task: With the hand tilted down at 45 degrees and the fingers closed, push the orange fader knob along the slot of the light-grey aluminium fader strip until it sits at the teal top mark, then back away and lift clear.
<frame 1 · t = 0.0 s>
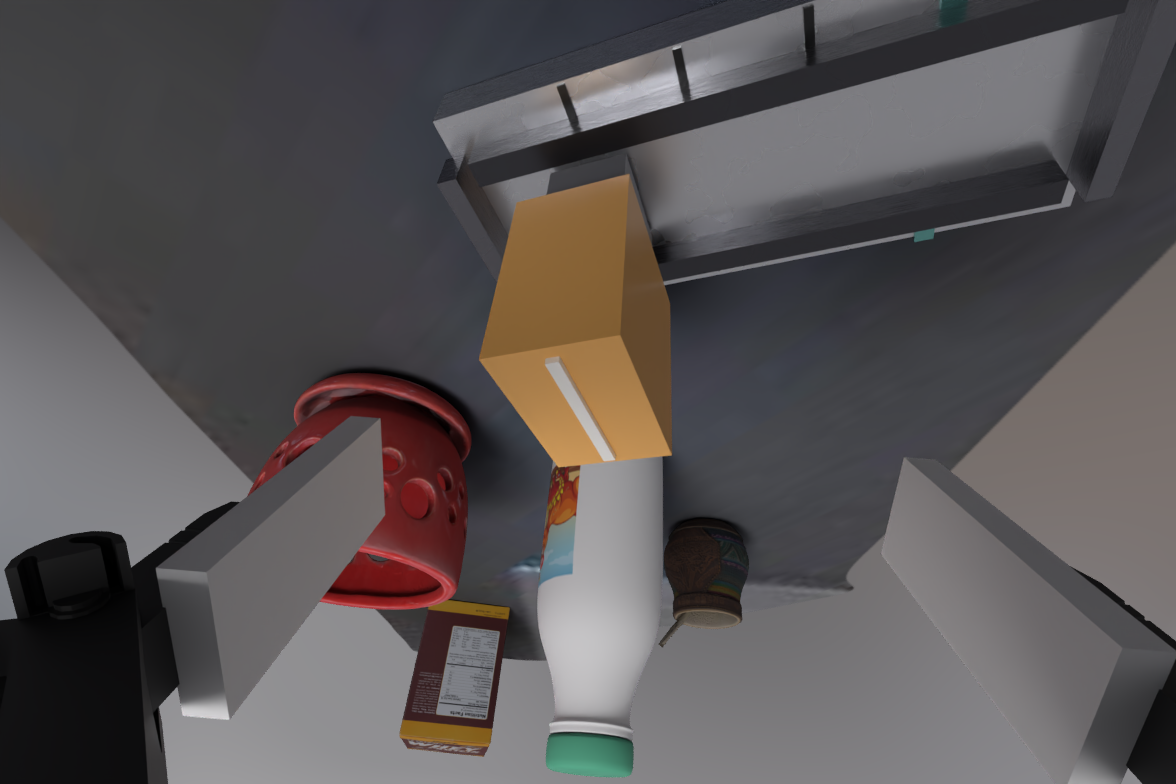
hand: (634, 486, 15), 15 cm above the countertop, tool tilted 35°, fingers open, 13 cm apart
mate gourd: (702, 526, 53), on the countertop
plant pot: (397, 412, 42), on the countertop
fader strip: (752, 135, 23), on the countertop
milk bottle: (609, 443, 43), on the countertop
fader knob: (595, 296, 21), point 7 cm above the countertop, slide at 0.0 cm
supplement box: (469, 616, 82), on the countertop
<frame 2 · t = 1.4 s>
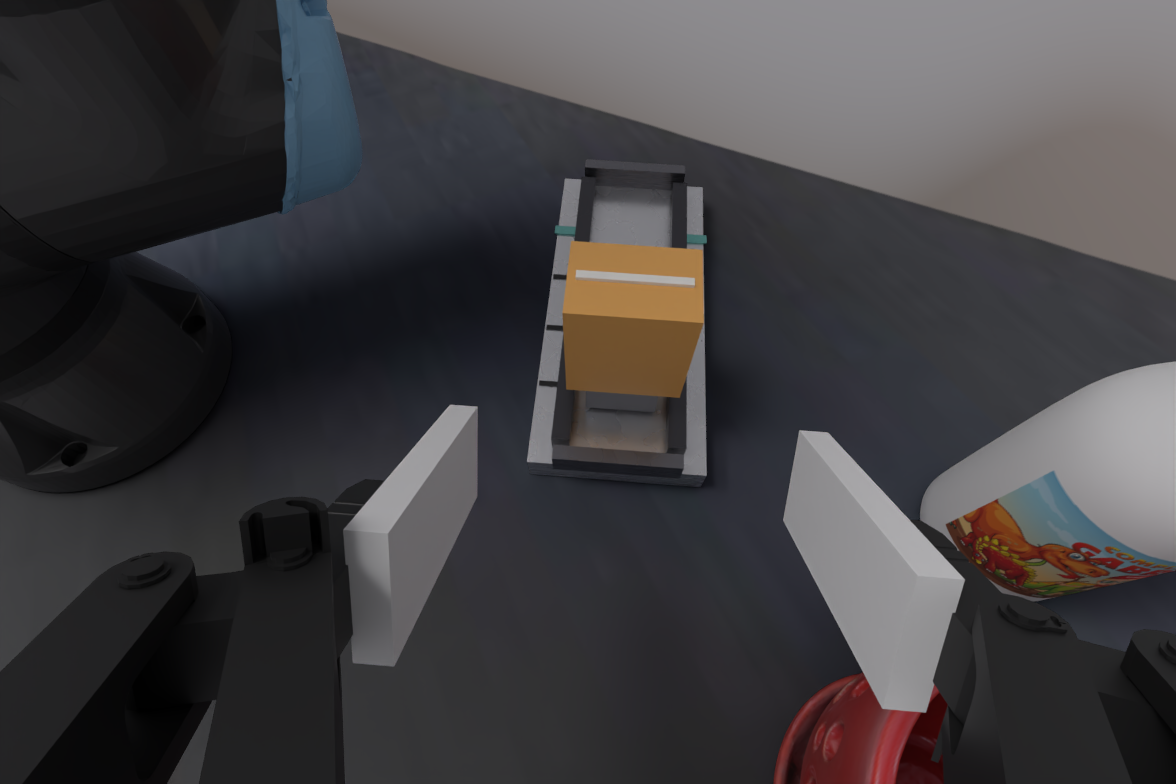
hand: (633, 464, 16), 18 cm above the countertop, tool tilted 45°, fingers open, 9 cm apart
fader strip: (624, 324, 40), on the countertop
milk bottle: (982, 535, 34), on the countertop
fader knob: (627, 340, 30), point 7 cm above the countertop, slide at 0.0 cm
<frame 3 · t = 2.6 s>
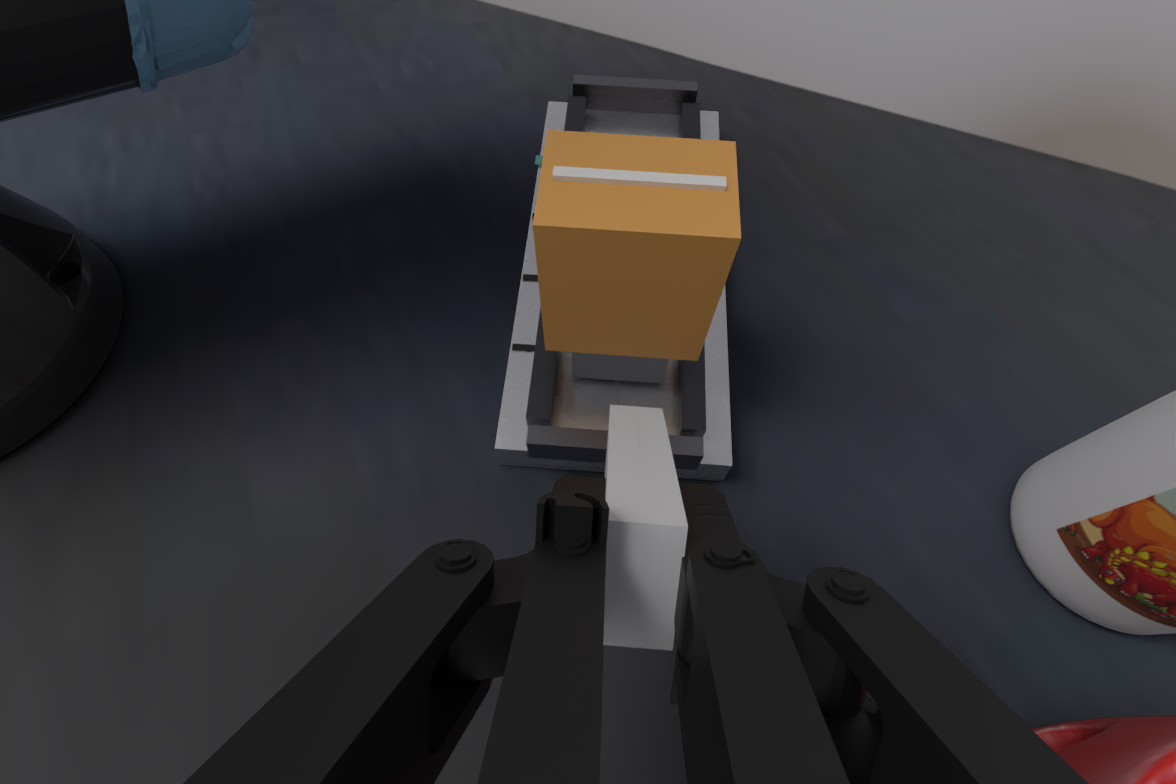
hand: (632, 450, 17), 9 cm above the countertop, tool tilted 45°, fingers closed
fader strip: (622, 277, 32), on the countertop
milk bottle: (1091, 541, 26), on the countertop
fader knob: (627, 281, 22), point 7 cm above the countertop, slide at 0.0 cm
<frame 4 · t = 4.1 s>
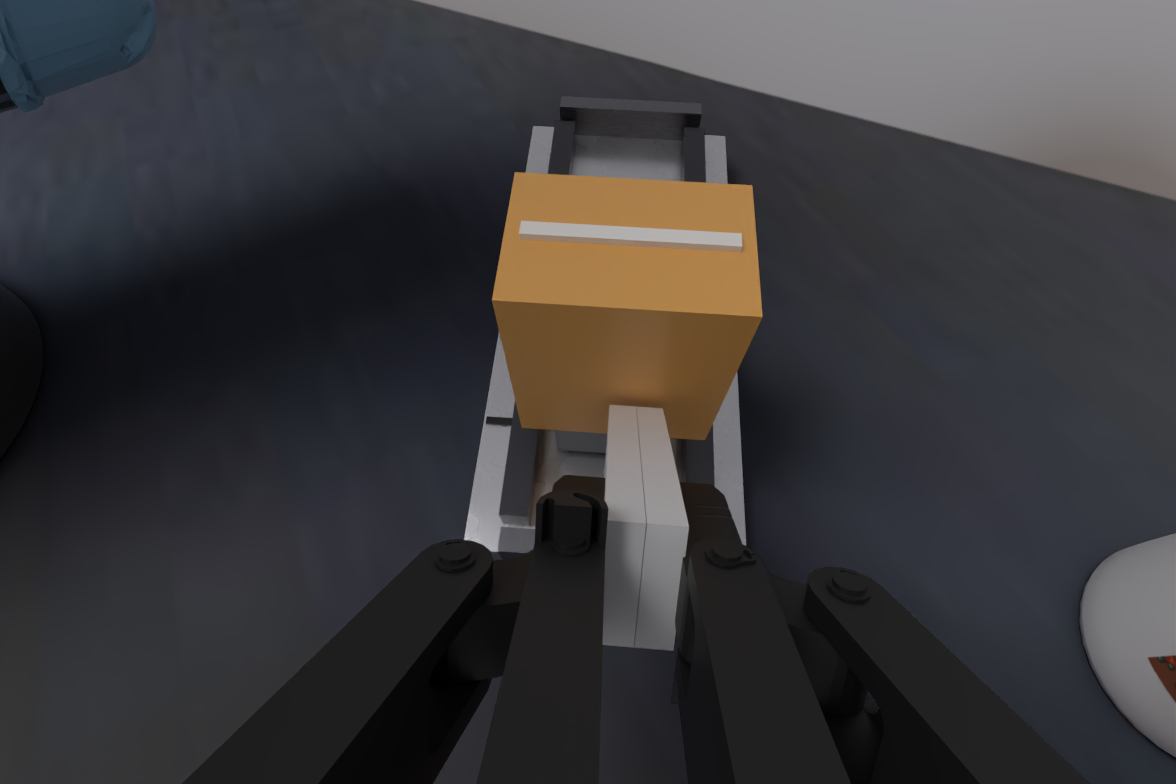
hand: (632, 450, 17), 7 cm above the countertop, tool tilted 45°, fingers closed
fader strip: (616, 328, 28), on the countertop
fader knob: (619, 348, 18), point 7 cm above the countertop, slide at 0.4 cm, touching gripper
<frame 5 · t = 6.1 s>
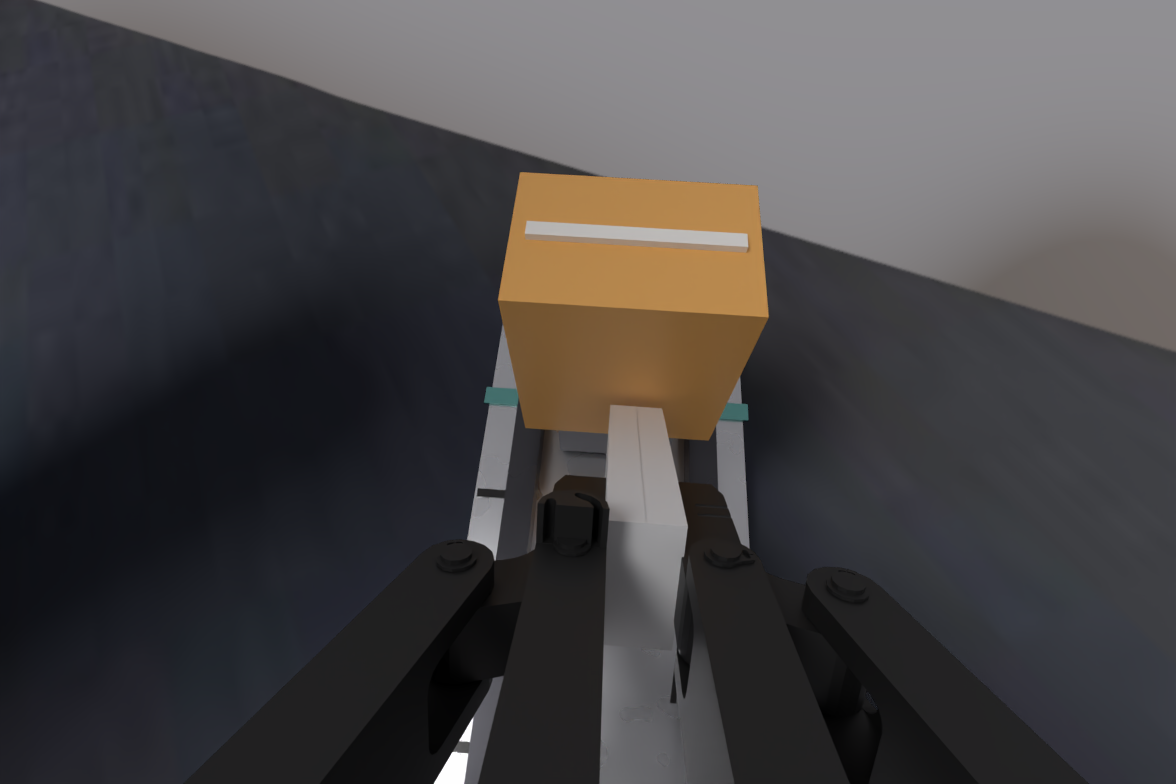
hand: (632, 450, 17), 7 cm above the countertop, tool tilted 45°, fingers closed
fader strip: (605, 568, 22), on the countertop
fader knob: (623, 348, 18), point 7 cm above the countertop, slide at 11.3 cm
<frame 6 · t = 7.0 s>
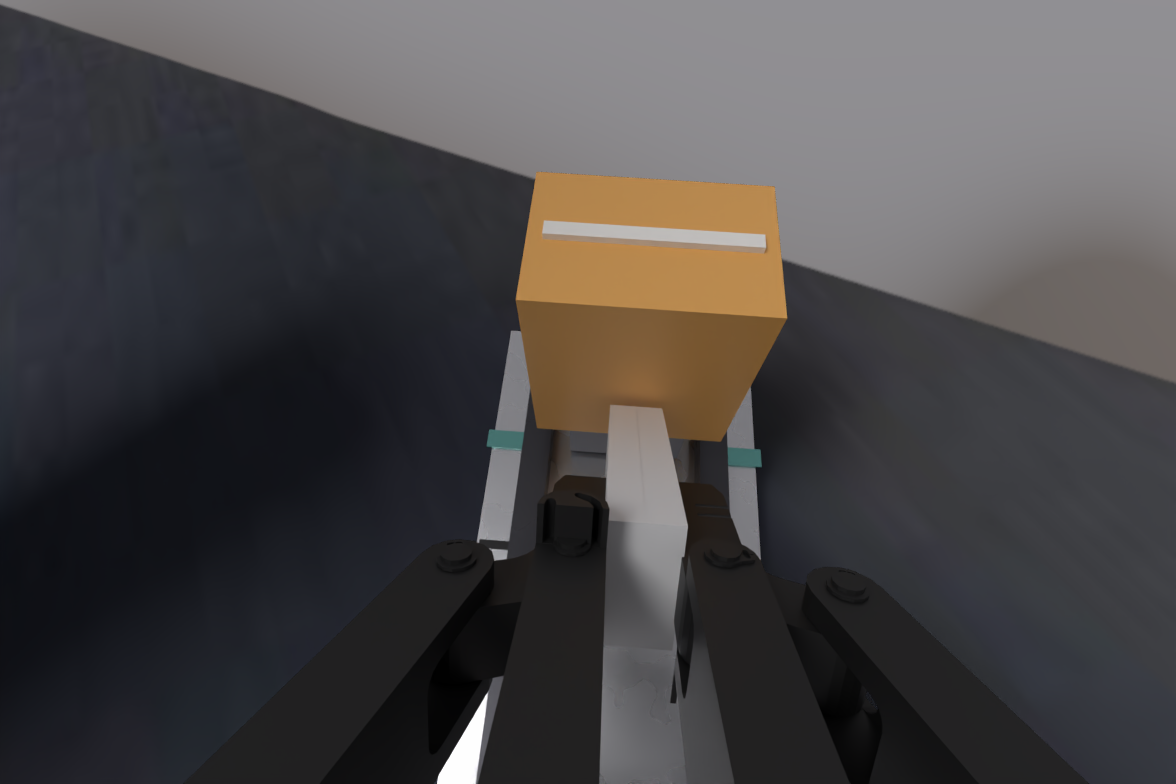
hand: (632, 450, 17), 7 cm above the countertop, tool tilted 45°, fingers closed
fader strip: (612, 622, 22), on the countertop
fader knob: (636, 348, 18), point 7 cm above the countertop, slide at 13.2 cm, touching gripper
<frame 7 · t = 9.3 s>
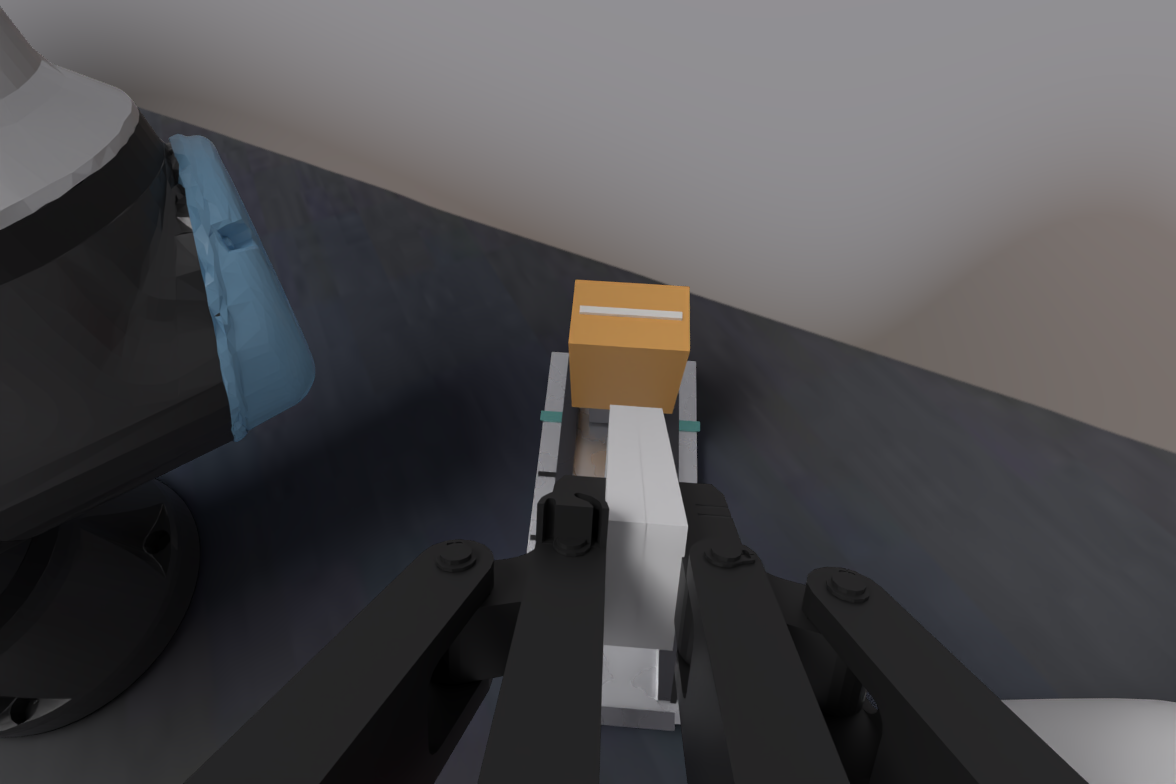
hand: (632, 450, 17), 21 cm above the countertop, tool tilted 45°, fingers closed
fader strip: (613, 520, 38), on the countertop
milk bottle: (998, 783, 31), on the countertop
fader knob: (625, 363, 34), point 7 cm above the countertop, slide at 13.2 cm
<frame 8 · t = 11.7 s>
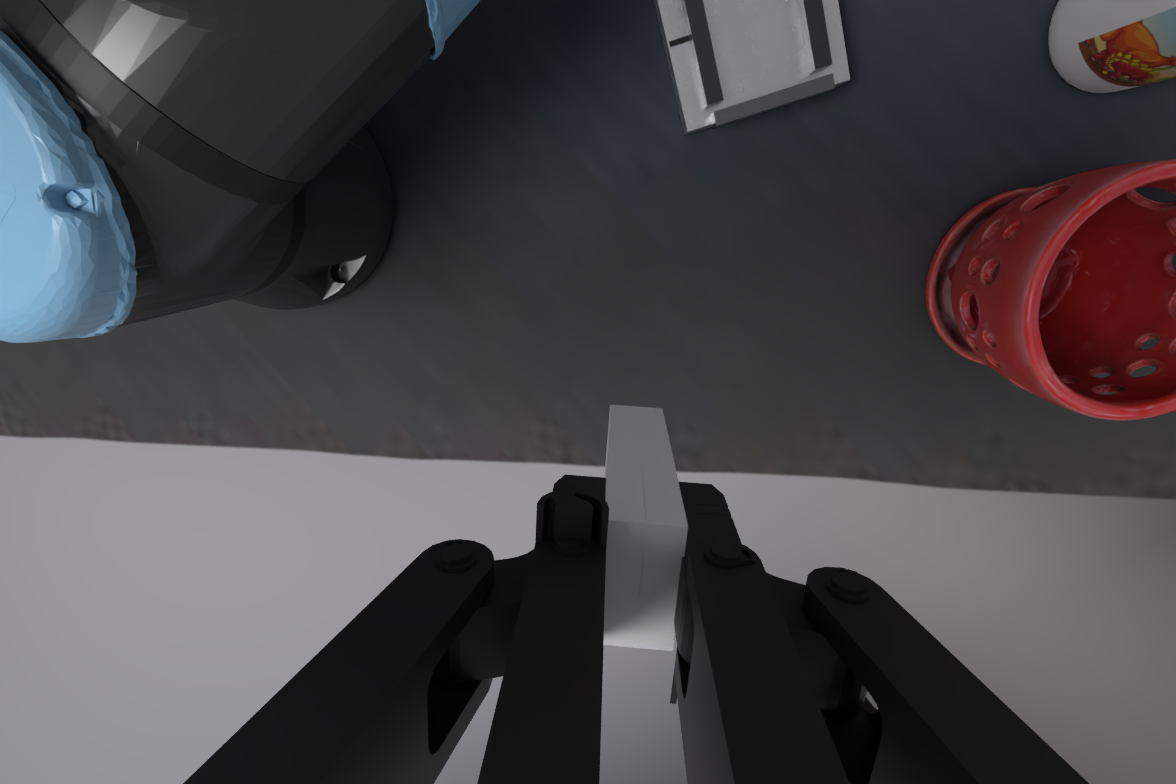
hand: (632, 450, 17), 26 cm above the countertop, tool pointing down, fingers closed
plant pot: (1006, 273, 41), on the countertop
milk bottle: (1107, 26, 36), on the countertop
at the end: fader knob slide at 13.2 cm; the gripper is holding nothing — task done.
